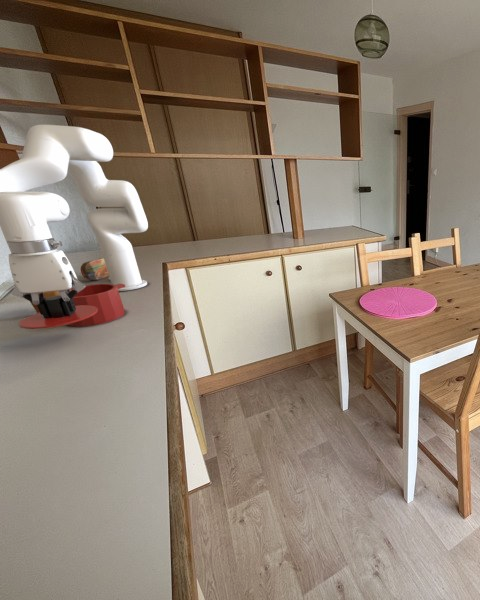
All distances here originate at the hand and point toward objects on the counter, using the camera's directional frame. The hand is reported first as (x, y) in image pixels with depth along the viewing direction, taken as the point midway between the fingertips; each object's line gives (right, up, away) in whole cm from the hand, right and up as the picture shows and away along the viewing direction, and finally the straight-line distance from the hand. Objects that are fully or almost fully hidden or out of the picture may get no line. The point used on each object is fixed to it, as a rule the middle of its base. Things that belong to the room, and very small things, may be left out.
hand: (60, 314), depth 83 cm
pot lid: (0, -1, 0) cm, 1 cm away
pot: (-8, -2, +19) cm, 21 cm away
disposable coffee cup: (-24, -1, +20) cm, 32 cm away
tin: (-45, +14, +58) cm, 75 cm away
